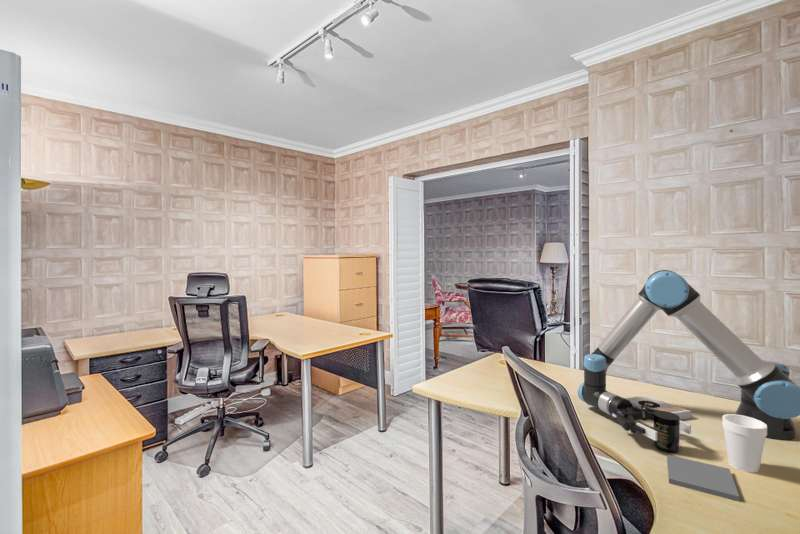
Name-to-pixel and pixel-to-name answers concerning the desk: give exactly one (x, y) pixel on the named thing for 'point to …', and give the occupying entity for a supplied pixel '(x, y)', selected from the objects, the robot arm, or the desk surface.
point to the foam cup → (744, 441)
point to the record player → (660, 406)
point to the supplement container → (667, 431)
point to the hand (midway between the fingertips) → (673, 433)
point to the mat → (701, 477)
